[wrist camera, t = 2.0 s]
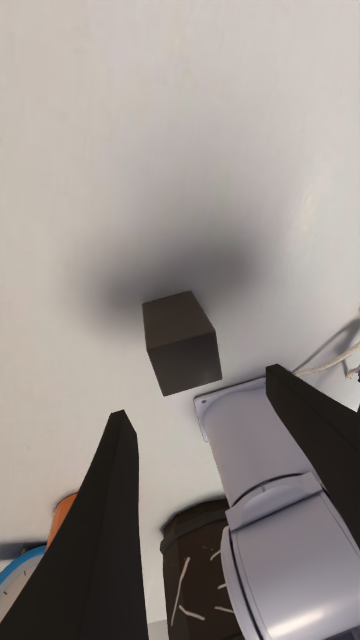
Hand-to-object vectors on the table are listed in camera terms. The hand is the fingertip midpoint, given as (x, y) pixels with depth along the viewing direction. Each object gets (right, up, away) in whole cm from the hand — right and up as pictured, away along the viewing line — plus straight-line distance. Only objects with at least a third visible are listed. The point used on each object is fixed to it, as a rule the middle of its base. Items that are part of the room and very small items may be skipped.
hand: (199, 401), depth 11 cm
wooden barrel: (+4, -32, +30) cm, 44 cm away
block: (-2, +4, +7) cm, 9 cm away
